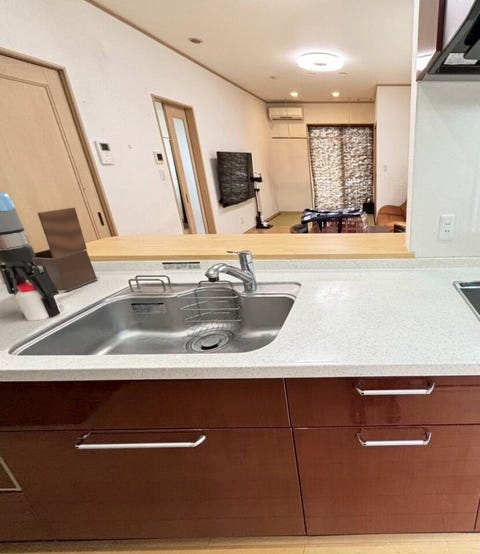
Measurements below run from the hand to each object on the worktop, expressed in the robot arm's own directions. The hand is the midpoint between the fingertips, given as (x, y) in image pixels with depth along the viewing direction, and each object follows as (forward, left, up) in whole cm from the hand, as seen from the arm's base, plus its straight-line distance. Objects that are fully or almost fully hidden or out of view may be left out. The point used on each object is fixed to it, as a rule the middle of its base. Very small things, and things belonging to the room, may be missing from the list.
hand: (43, 314), depth 96 cm
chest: (-18, +21, 0) cm, 28 cm away
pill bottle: (0, 0, 0) cm, 0 cm away
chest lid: (-10, +22, +22) cm, 32 cm away
